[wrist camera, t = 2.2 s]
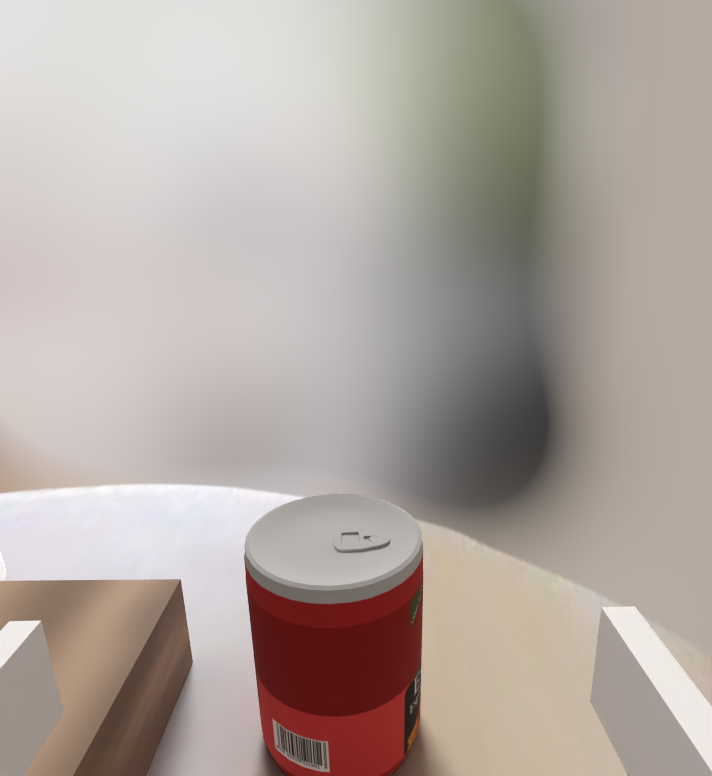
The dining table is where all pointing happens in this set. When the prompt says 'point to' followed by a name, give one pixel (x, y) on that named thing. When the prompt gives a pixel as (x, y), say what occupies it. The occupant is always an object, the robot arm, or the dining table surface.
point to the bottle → (2, 569)
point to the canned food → (337, 633)
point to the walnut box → (106, 668)
